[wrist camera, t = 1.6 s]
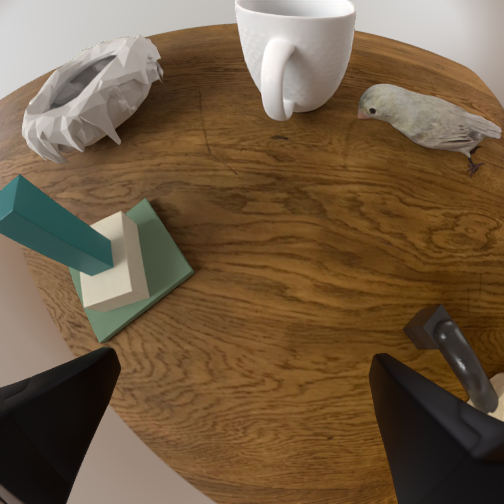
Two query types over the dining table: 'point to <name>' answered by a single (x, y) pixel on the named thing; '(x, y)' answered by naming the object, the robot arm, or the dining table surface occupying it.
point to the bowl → (91, 96)
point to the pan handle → (453, 354)
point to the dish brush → (78, 245)
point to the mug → (296, 50)
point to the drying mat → (156, 271)
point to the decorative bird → (427, 120)
